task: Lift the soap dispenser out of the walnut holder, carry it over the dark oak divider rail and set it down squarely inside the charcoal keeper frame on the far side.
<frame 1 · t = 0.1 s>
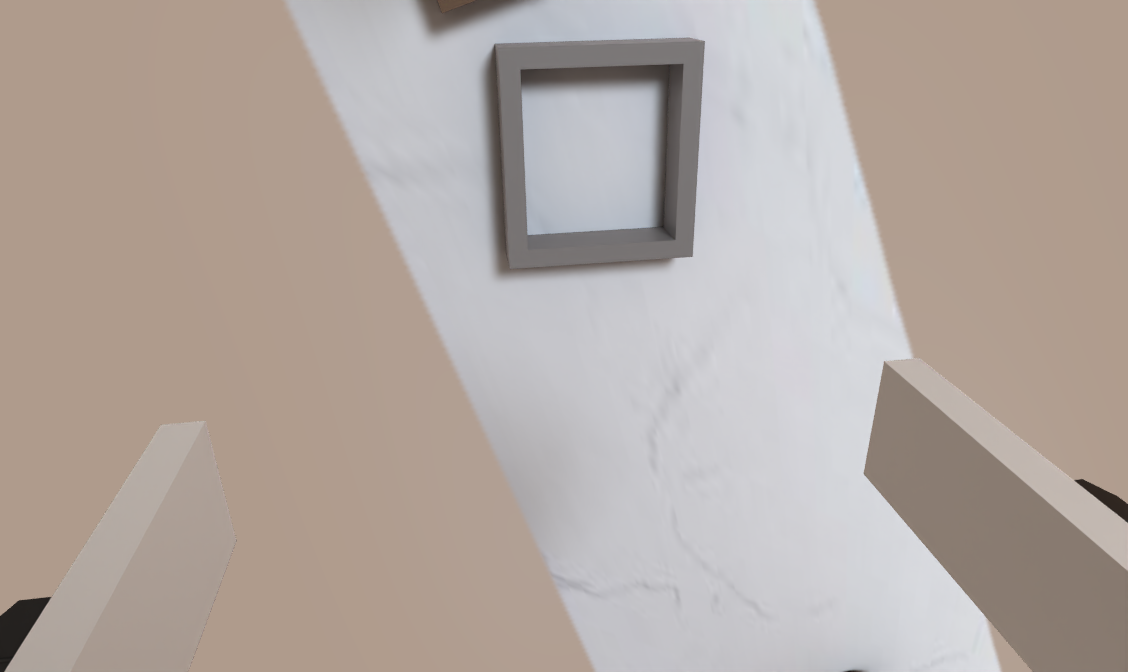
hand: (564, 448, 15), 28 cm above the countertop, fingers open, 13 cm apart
keeper frame: (594, 150, 41), on the countertop
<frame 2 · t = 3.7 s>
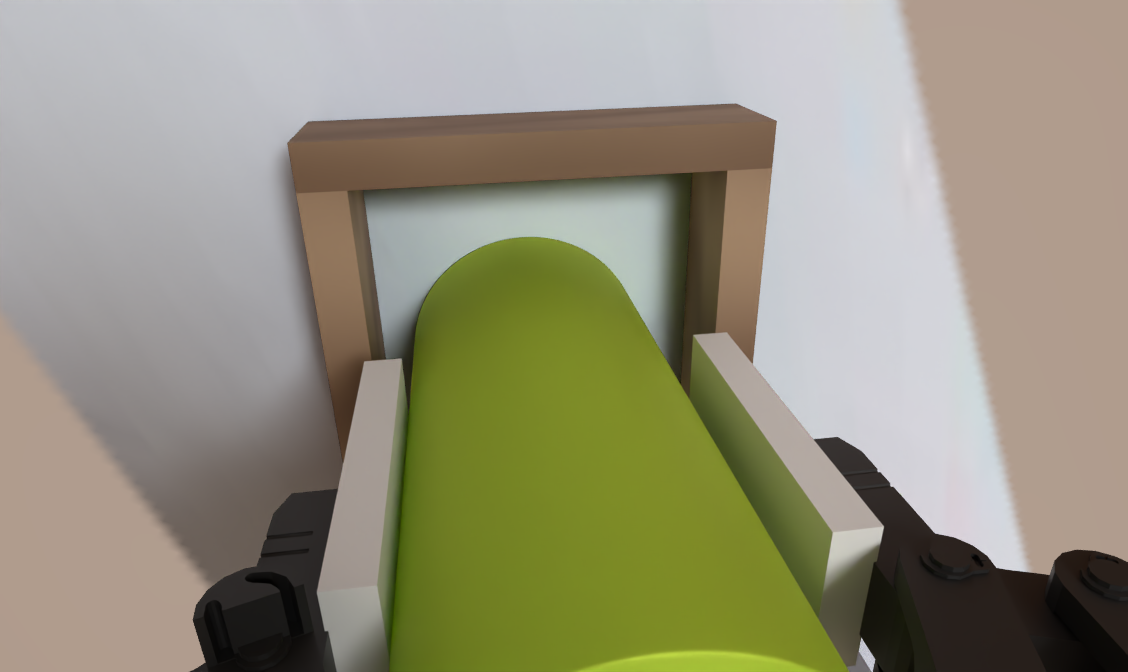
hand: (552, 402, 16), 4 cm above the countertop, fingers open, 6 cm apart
soap dispenser: (536, 323, 20), resting in walnut holder, touching gripper
walnut holder: (537, 326, 20), on the countertop
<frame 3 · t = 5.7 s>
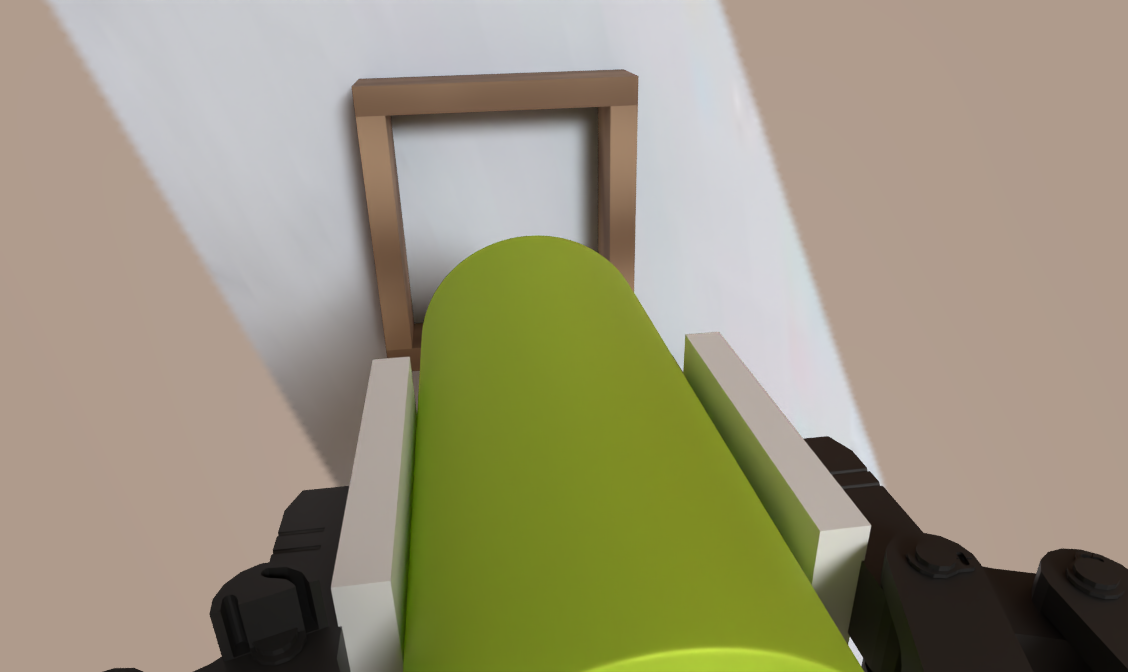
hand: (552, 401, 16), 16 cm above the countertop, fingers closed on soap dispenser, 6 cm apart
soap dispenser: (543, 322, 20), point 12 cm above the countertop, touching gripper
walnut holder: (501, 215, 31), on the countertop
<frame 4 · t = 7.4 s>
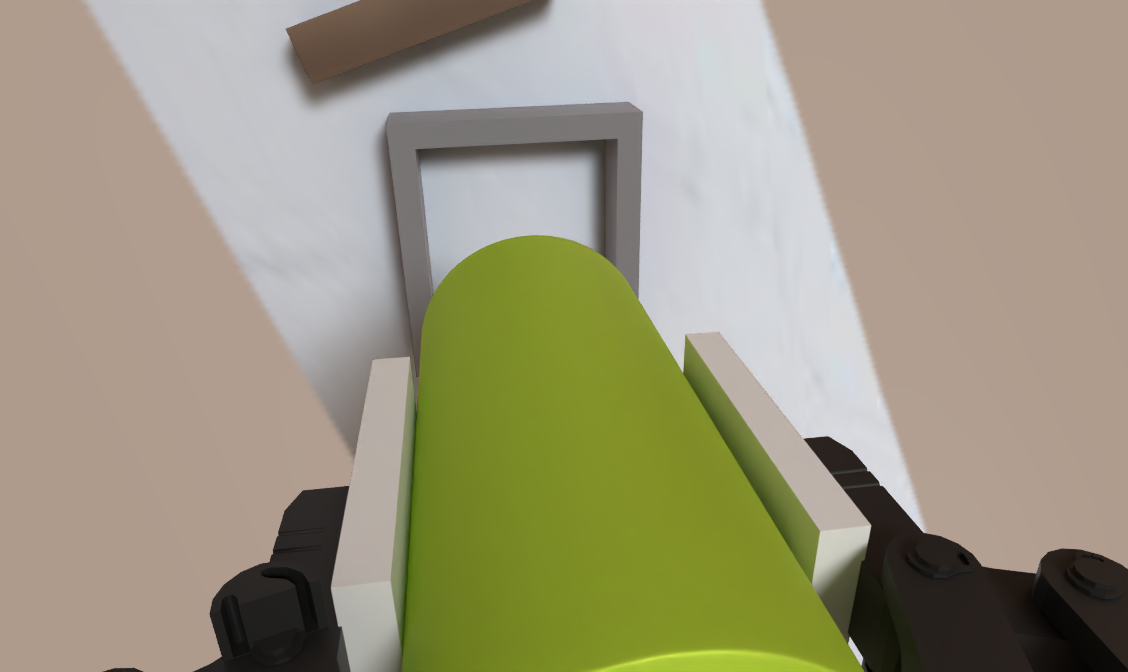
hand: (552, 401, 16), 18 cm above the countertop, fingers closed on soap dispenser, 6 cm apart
soap dispenser: (543, 322, 20), point 14 cm above the countertop, touching gripper
keeper frame: (517, 233, 34), on the countertop
door edge rail: (429, 5, 29), on the countertop
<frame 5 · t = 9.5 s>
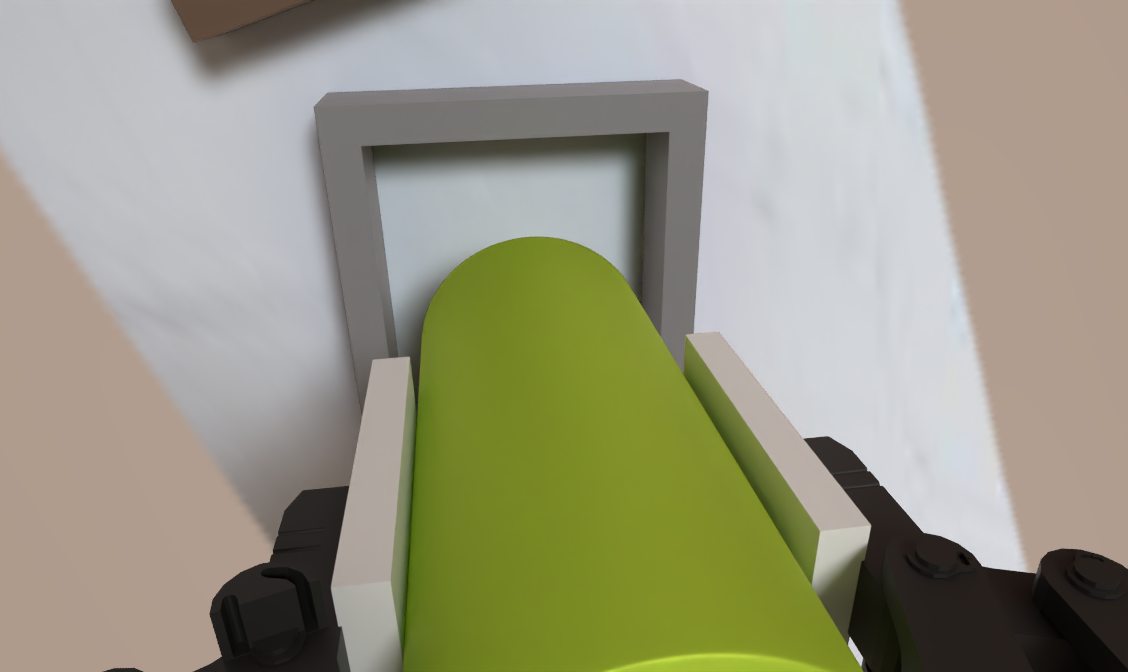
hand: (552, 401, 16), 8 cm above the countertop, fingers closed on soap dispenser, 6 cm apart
soap dispenser: (543, 323, 20), point 4 cm above the countertop, touching gripper
keeper frame: (518, 269, 24), on the countertop
when the fingers open (5 cm above the countertop, at t = 11.1 s): soap dispenser drops 1 cm, resting in keeper frame.
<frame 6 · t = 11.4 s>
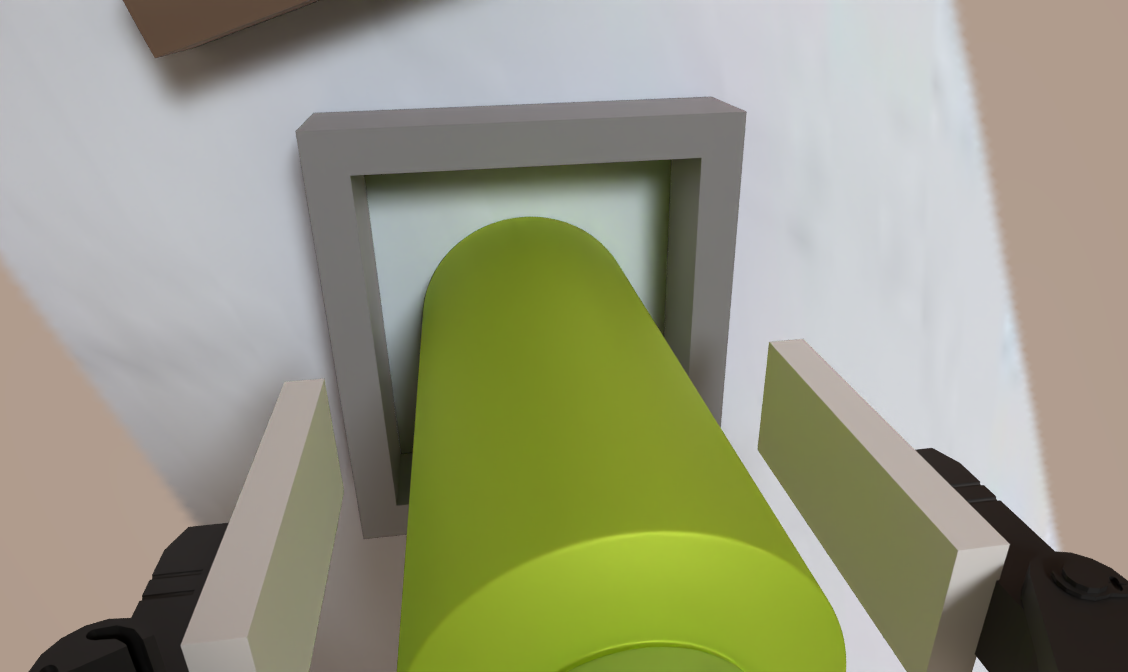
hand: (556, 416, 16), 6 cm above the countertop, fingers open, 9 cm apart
soap dispenser: (537, 299, 21), resting in keeper frame
keeper frame: (527, 306, 21), on the countertop
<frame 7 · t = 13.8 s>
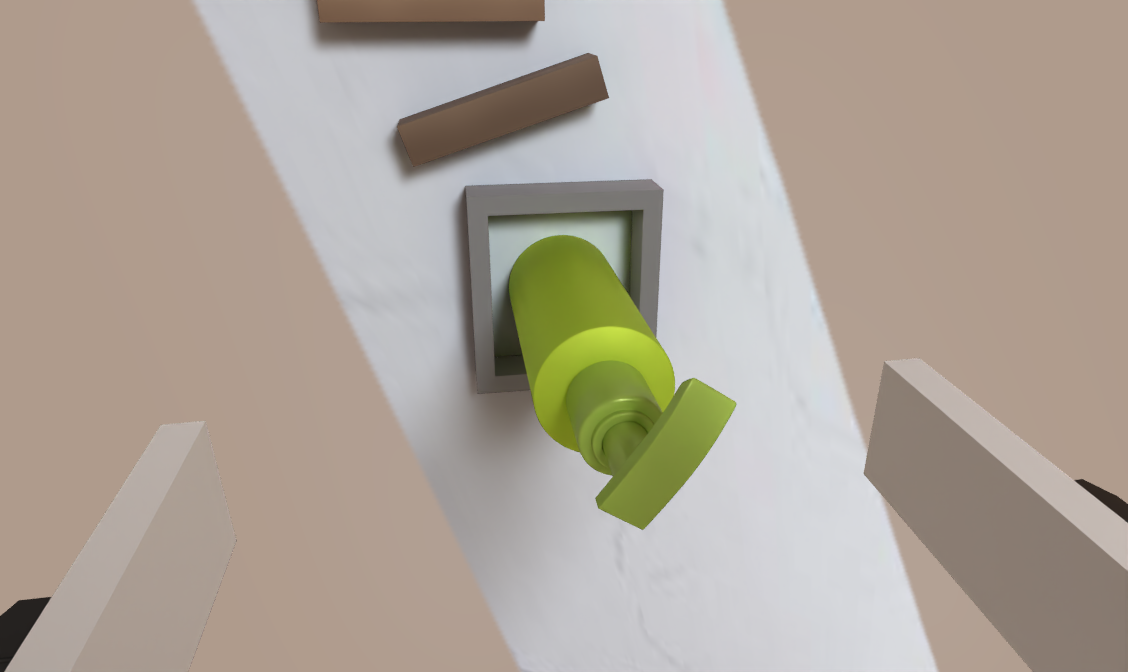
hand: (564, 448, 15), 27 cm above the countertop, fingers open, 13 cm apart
soap dispenser: (565, 276, 43), resting in keeper frame
keeper frame: (560, 280, 42), on the countertop
door edge rail: (500, 105, 38), on the countertop
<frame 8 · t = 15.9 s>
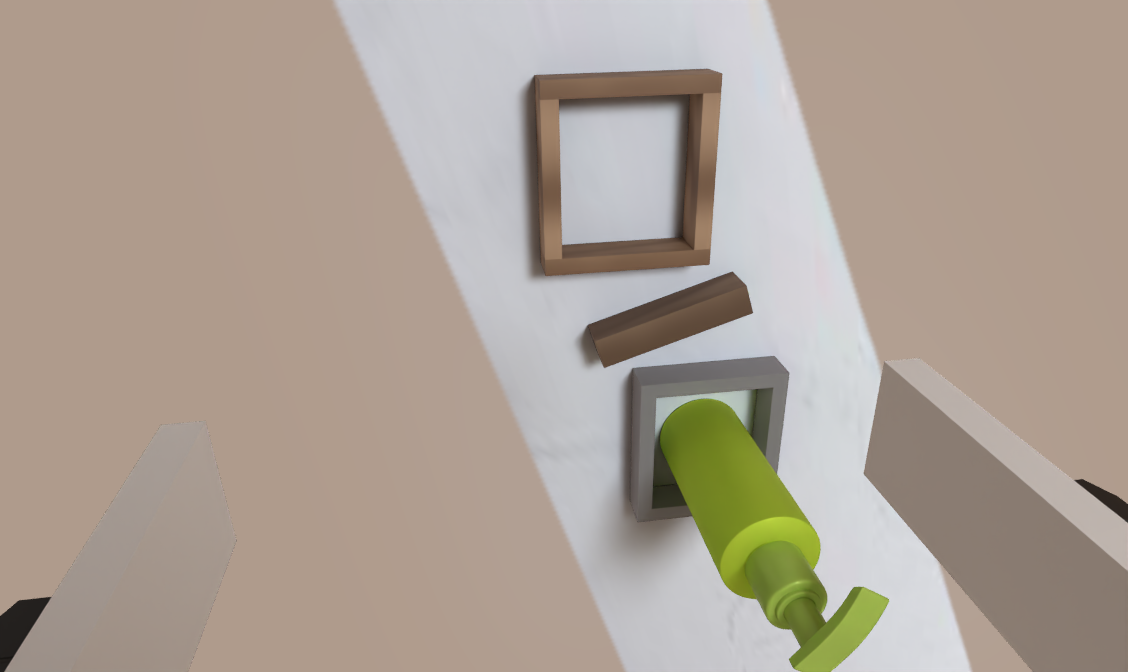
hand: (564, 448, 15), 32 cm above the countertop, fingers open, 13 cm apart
soap dispenser: (703, 427, 54), resting in keeper frame
walnut holder: (621, 169, 45), on the countertop
keeper frame: (699, 430, 54), on the countertop
door edge rail: (663, 311, 49), on the countertop
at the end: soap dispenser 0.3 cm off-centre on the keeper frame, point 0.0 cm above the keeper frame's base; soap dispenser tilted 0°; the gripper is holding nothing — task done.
